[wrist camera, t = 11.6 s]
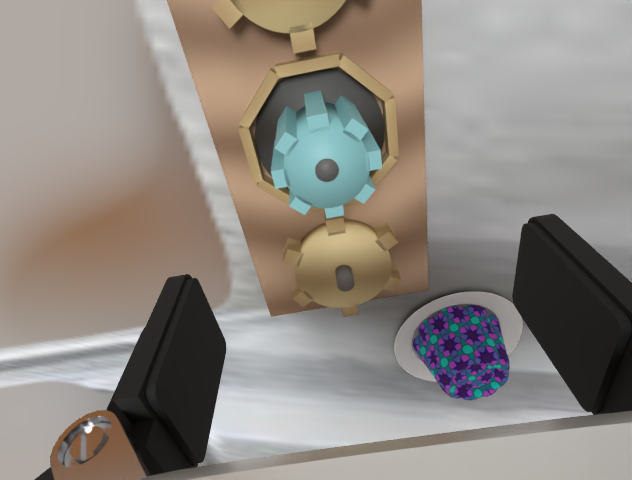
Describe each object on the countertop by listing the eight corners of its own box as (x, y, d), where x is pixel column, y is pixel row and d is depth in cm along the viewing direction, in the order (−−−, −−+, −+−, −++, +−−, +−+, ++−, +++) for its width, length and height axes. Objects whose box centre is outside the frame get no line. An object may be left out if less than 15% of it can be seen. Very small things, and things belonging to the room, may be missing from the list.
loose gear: (265, 101, 23) (258, 127, 18) (360, 82, 22) (376, 103, 18) (286, 187, 26) (285, 227, 21) (370, 171, 25) (386, 208, 21)
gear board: (131, -136, 18) (88, -170, 14) (407, -201, 17) (438, -255, 14) (272, 304, 33) (269, 344, 29) (423, 278, 32) (440, 316, 29)
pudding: (435, 391, 41) (451, 438, 37) (367, 334, 36) (377, 381, 32) (539, 335, 37) (572, 381, 33) (480, 262, 32) (509, 305, 28)
